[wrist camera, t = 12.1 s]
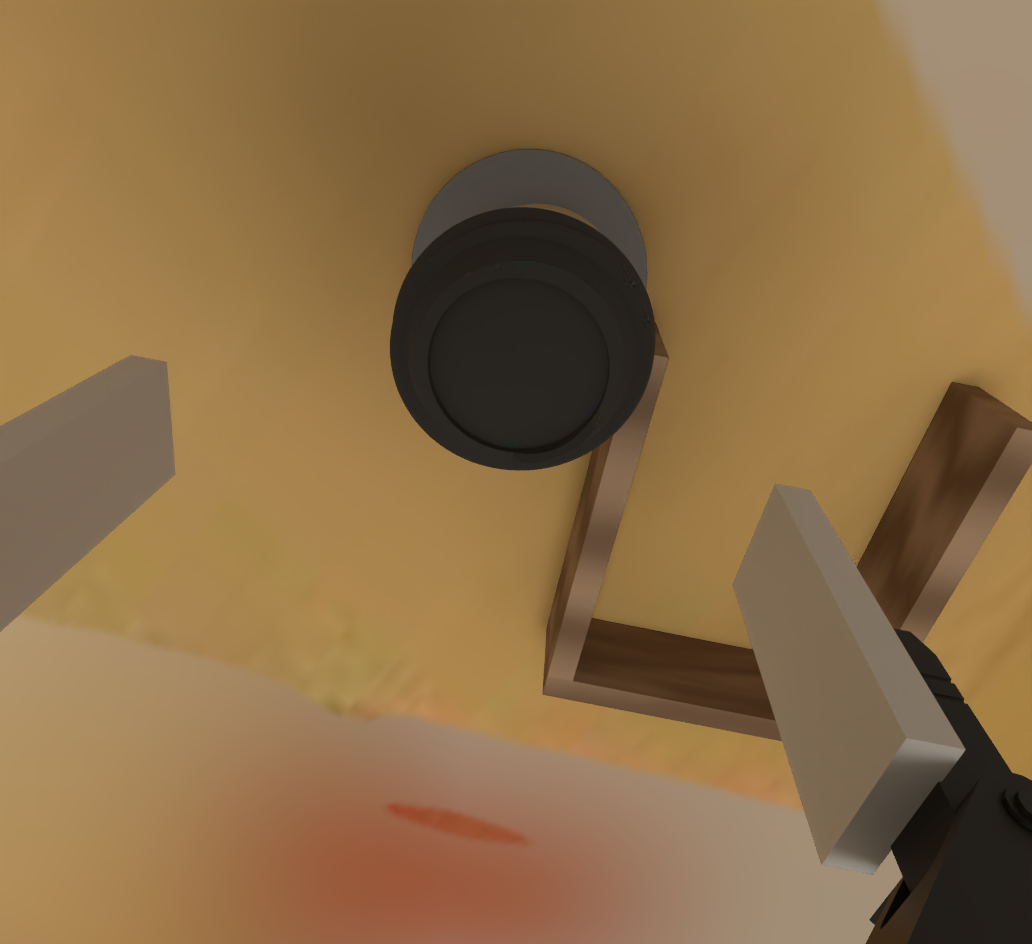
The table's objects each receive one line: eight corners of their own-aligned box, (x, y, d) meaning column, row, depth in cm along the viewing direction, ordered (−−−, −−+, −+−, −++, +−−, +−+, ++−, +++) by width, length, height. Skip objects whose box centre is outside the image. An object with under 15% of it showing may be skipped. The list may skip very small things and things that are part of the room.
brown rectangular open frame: (627, 316, 36) (636, 351, 30) (979, 387, 36) (1049, 434, 30) (546, 627, 46) (542, 694, 40) (822, 681, 46) (854, 755, 40)
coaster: (428, 125, 32) (425, 126, 32) (675, 176, 32) (676, 177, 32) (403, 363, 38) (400, 367, 37) (613, 405, 38) (614, 409, 37)
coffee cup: (419, 230, 34) (317, 299, 21) (586, 143, 31) (594, 157, 18) (499, 386, 37) (457, 532, 24) (656, 318, 35) (704, 439, 22)
